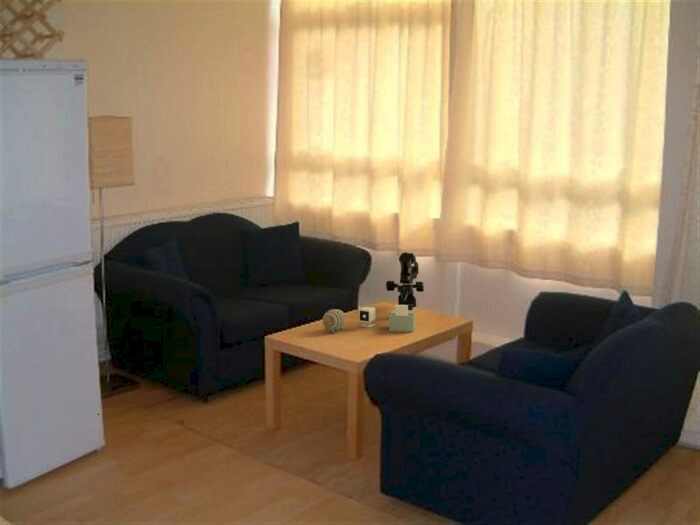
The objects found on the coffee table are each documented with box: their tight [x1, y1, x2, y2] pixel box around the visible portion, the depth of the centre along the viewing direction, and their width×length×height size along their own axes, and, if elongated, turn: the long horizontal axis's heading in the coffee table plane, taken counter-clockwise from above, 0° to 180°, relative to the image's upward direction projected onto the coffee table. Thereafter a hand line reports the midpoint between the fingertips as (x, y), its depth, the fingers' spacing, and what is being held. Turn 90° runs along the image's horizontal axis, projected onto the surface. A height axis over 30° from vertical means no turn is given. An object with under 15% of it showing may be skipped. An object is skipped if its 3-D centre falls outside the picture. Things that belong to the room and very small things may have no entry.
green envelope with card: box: [388, 304, 415, 333], centre depth 401 cm, size 1×12×13 cm, turn 81°
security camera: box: [358, 306, 376, 328], centre depth 412 cm, size 6×7×10 cm
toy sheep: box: [322, 308, 346, 335], centre depth 406 cm, size 11×17×11 cm, turn 153°
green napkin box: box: [388, 309, 416, 330], centre depth 406 cm, size 8×12×10 cm, turn 81°
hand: (403, 300), depth 412 cm, fingers closed
